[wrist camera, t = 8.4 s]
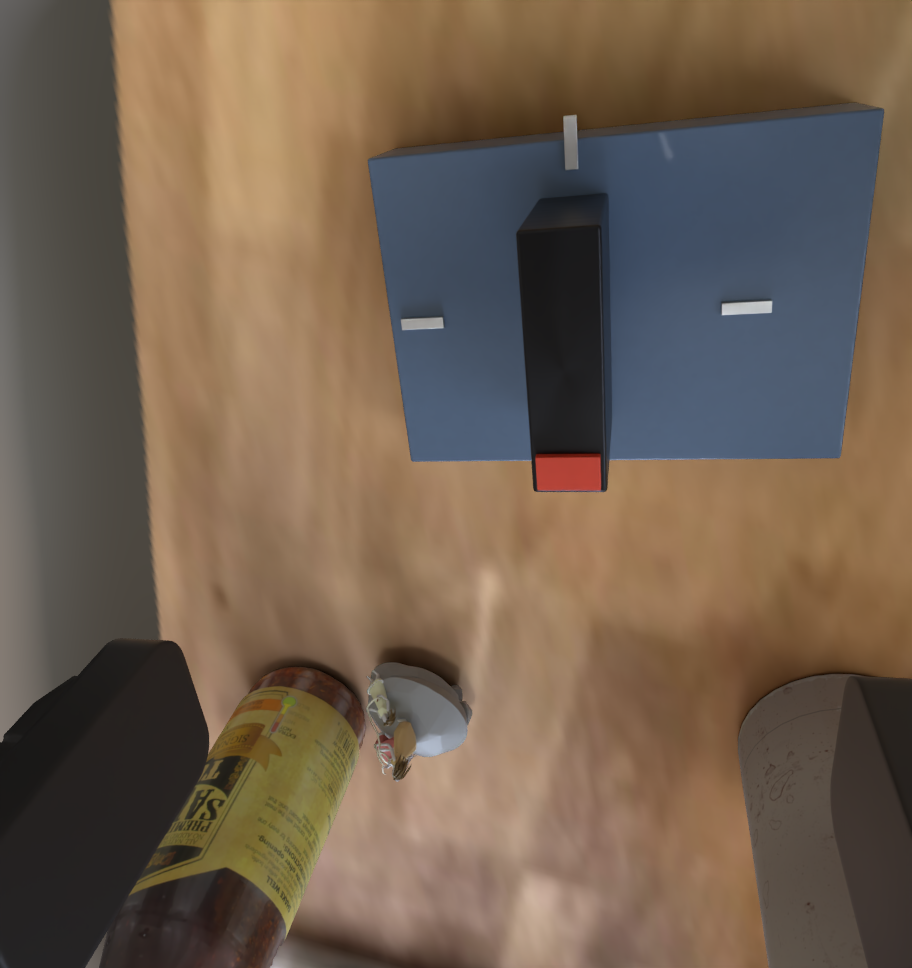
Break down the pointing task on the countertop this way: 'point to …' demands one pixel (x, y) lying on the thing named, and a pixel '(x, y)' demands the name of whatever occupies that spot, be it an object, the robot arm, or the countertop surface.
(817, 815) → the thermos bottle
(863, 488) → the countertop surface
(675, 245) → the rotary switch base
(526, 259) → the black and red block
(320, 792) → the sauce bottle
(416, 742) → the figurine
